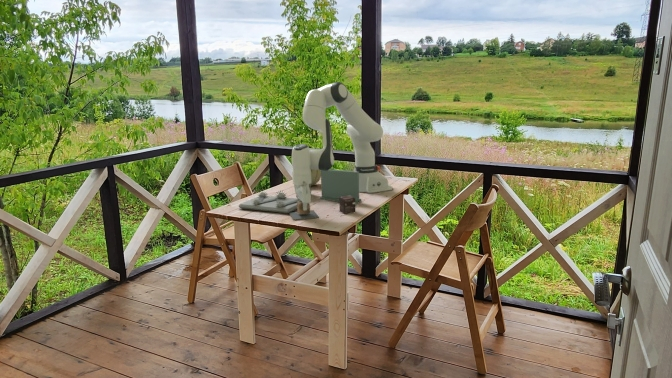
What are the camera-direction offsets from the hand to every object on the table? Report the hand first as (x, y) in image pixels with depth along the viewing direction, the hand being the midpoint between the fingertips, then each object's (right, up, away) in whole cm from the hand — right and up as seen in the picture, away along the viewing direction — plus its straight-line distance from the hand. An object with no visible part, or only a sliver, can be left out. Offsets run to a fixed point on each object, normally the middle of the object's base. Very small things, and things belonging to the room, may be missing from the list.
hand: (303, 208), depth 228 cm
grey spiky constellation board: (-16, 0, +19) cm, 25 cm away
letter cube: (0, -2, 0) cm, 2 cm away
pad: (0, -4, +1) cm, 4 cm away
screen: (+18, +3, +27) cm, 33 cm away
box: (+21, -2, +5) cm, 22 cm away
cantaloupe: (-1, +11, +64) cm, 65 cm away
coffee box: (-3, +5, +40) cm, 41 cm away
